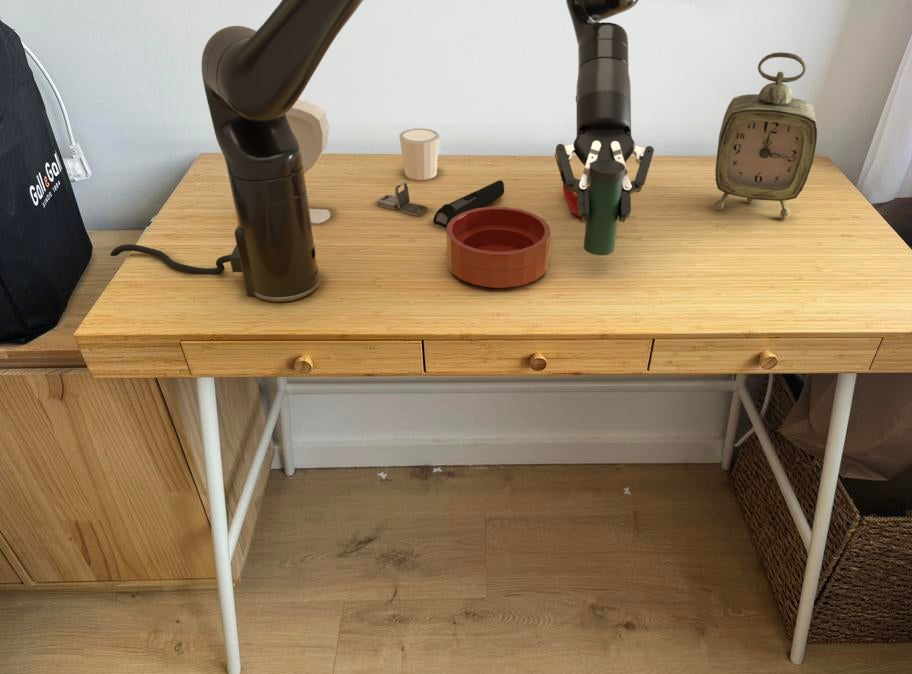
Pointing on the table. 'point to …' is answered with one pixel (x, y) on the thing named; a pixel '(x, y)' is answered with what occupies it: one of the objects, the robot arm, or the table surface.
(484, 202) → the electric trimmer
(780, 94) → the tabletop clock
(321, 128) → the heart sculpture
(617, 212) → the tube
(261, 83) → the robot arm
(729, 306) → the table surface
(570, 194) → the tracker holder
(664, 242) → the table surface
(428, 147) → the shot glass
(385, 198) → the strap clip
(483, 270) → the bowl
